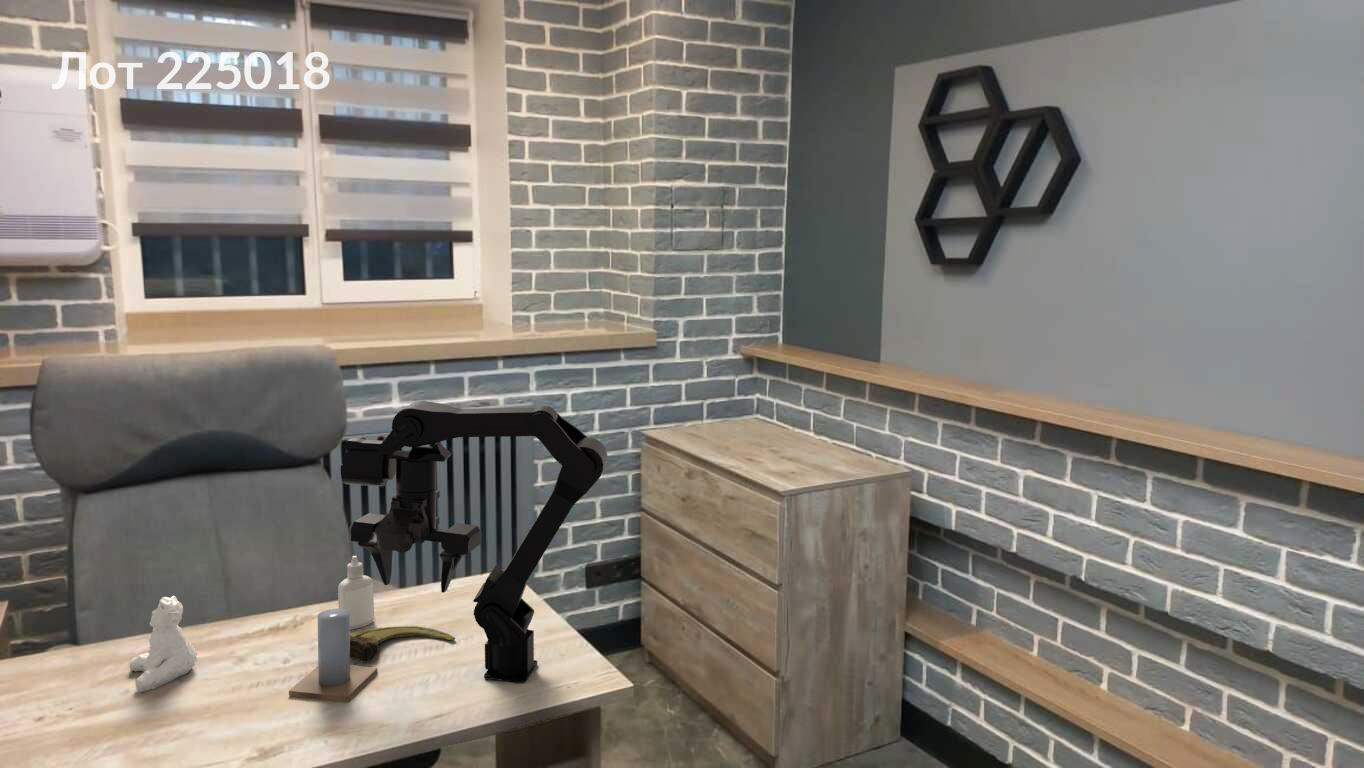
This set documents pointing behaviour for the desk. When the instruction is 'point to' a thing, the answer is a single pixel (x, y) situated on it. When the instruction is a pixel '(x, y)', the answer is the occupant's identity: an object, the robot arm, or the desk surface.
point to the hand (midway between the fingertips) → (415, 588)
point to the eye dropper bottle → (357, 595)
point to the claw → (368, 640)
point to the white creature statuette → (164, 648)
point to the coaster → (343, 692)
